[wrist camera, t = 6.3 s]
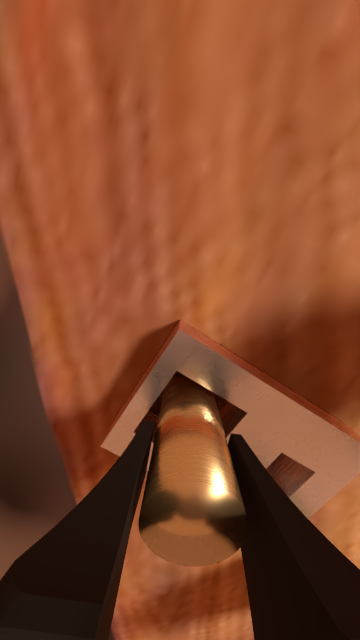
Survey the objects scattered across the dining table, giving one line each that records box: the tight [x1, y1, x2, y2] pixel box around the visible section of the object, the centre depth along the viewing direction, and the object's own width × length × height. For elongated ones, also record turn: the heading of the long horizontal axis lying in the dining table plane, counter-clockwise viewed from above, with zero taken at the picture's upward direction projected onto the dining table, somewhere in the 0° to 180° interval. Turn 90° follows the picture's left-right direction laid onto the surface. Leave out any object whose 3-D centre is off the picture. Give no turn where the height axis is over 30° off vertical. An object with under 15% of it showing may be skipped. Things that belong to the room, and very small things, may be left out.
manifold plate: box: [100, 320, 360, 519], centre depth 14 cm, size 16×10×2 cm, turn 57°
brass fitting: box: [139, 374, 248, 566], centre depth 11 cm, size 4×4×8 cm
